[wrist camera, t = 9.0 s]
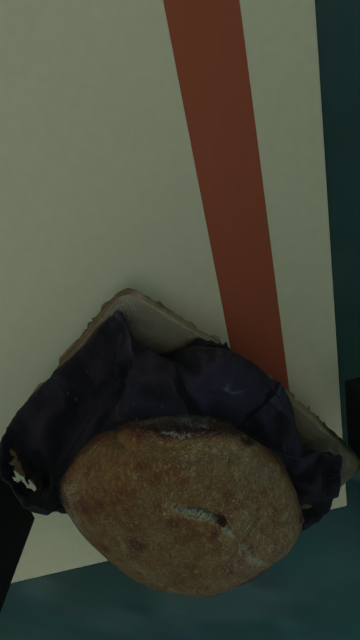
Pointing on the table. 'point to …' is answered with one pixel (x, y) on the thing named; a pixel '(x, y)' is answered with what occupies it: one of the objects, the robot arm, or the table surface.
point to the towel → (162, 194)
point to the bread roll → (173, 452)
